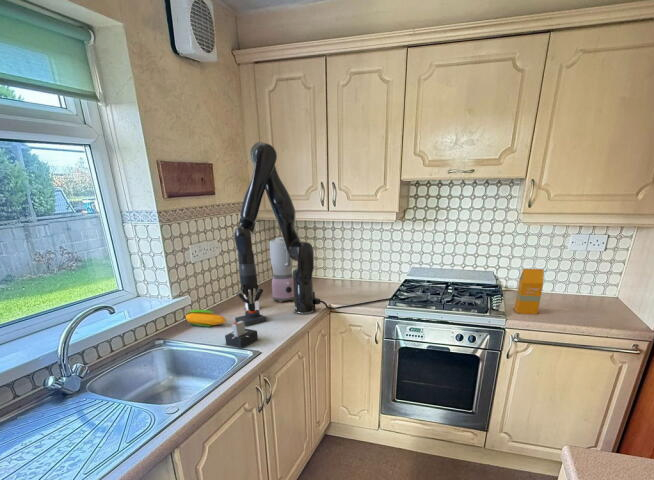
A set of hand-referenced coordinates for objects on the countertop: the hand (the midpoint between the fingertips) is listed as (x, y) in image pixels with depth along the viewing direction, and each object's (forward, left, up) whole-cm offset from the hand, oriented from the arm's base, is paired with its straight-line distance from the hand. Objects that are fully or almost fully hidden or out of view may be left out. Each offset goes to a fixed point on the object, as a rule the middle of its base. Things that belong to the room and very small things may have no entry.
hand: (252, 310), depth 187 cm
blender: (-30, -17, -5) cm, 35 cm away
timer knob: (+20, +23, 0) cm, 30 cm away
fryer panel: (+18, +21, -4) cm, 28 cm away
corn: (+19, -8, -5) cm, 21 cm away
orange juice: (-101, +80, -5) cm, 129 cm away
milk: (-9, -16, -5) cm, 19 cm away
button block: (+2, +1, -4) cm, 5 cm away
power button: (0, 0, -2) cm, 2 cm away
